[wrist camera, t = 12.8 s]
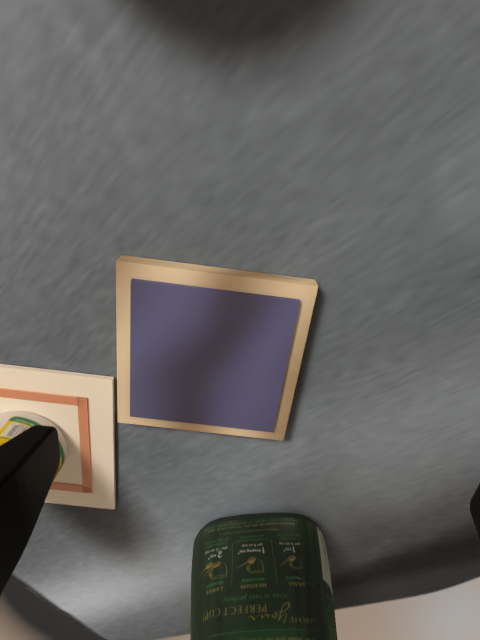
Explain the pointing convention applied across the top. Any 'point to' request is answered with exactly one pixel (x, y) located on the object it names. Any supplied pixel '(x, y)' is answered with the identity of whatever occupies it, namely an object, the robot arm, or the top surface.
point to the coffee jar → (261, 580)
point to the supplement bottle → (16, 422)
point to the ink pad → (209, 346)
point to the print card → (71, 428)
